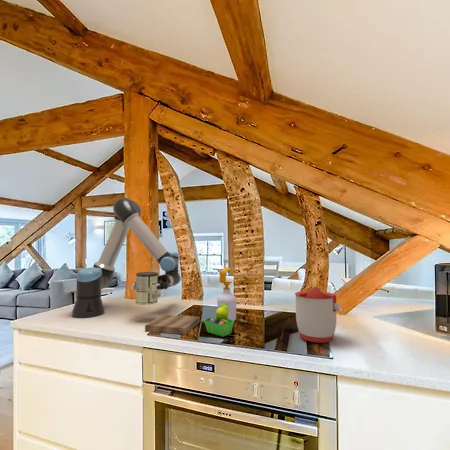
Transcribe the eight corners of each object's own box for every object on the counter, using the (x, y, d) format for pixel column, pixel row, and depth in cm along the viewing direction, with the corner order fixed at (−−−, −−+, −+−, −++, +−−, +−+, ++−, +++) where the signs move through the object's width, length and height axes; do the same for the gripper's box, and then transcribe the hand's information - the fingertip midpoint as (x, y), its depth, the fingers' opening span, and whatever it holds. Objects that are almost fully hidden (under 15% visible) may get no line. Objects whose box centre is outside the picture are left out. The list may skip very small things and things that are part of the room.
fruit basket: (202, 332, 117) (202, 304, 118) (217, 327, 124) (217, 301, 124) (223, 338, 110) (223, 309, 110) (237, 333, 116) (237, 305, 117)
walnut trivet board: (144, 331, 118) (145, 325, 119) (164, 319, 136) (164, 314, 136) (185, 334, 114) (185, 328, 114) (199, 322, 132) (199, 316, 132)
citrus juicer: (339, 349, 98) (338, 291, 99) (290, 341, 107) (289, 287, 108) (345, 336, 112) (343, 285, 113) (301, 329, 120) (300, 282, 121)
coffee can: (140, 300, 141) (141, 271, 142) (160, 300, 140) (161, 272, 141) (131, 304, 131) (132, 273, 132) (153, 305, 130) (153, 274, 131)
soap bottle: (239, 319, 136) (239, 268, 138) (226, 323, 130) (226, 269, 132) (227, 315, 143) (227, 266, 144) (213, 319, 137) (213, 268, 138)
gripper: (183, 289, 150) (164, 297, 129) (145, 287, 156) (120, 294, 134) (183, 275, 151) (164, 281, 129) (145, 273, 156) (121, 278, 135)
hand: (142, 288), depth 132 cm, fingers closed on coffee can, 10 cm apart
